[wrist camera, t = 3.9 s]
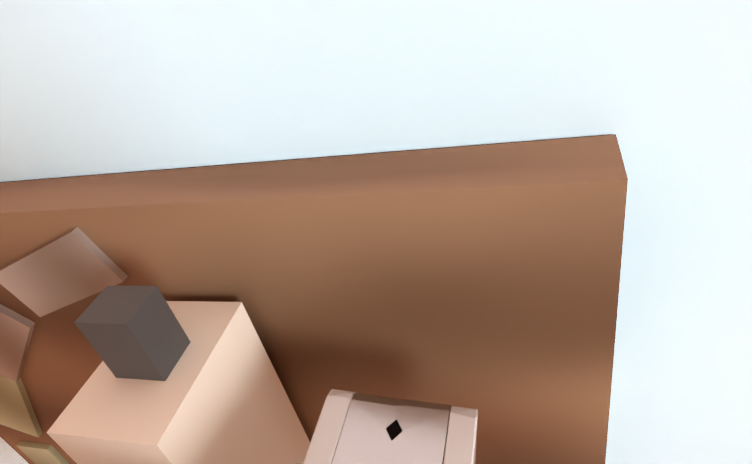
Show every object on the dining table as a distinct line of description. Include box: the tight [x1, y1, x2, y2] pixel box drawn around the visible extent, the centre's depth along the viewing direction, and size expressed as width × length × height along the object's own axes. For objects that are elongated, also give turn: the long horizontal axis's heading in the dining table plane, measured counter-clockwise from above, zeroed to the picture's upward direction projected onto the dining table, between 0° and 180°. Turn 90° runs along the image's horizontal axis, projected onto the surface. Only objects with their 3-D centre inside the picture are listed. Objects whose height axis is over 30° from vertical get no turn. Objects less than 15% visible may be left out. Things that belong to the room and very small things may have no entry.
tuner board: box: [0, 135, 628, 464], centre depth 18 cm, size 19×22×2 cm
